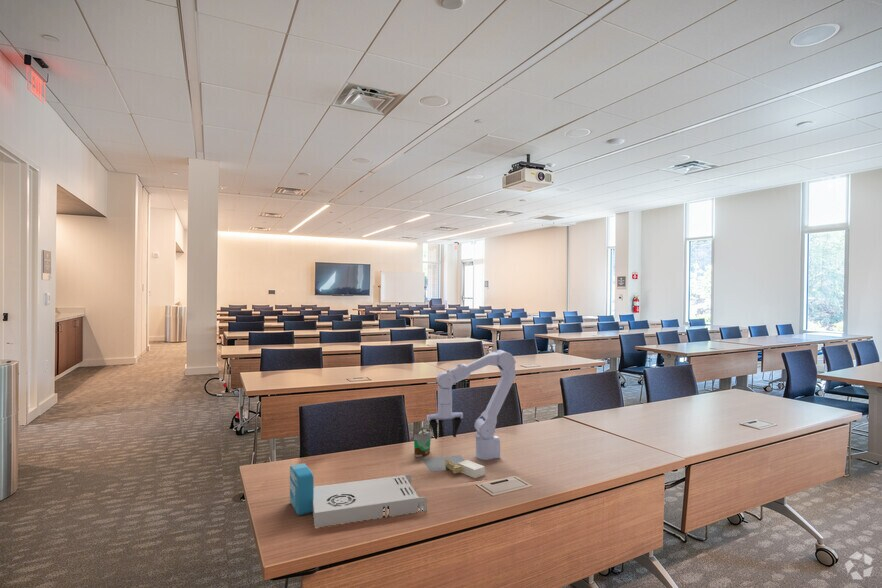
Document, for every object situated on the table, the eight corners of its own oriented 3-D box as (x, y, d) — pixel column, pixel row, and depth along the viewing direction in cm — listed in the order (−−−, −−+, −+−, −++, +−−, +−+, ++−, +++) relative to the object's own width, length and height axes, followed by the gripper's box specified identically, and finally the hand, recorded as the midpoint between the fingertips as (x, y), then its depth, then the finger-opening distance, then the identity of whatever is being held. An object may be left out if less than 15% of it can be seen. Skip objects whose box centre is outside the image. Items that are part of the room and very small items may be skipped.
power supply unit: (426, 513, 140) (426, 496, 141) (314, 530, 130) (314, 513, 130) (411, 488, 158) (411, 474, 158) (311, 502, 148) (311, 486, 148)
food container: (428, 461, 183) (428, 435, 183) (413, 460, 185) (413, 435, 185) (435, 451, 195) (435, 427, 196) (421, 450, 197) (421, 426, 197)
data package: (289, 502, 147) (289, 464, 147) (304, 499, 149) (304, 461, 149) (298, 517, 137) (298, 476, 137) (313, 514, 139) (313, 473, 139)
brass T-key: (443, 468, 172) (443, 460, 172) (450, 466, 174) (449, 458, 174) (454, 475, 166) (454, 466, 166) (461, 473, 167) (461, 465, 167)
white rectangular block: (467, 469, 173) (467, 459, 173) (484, 476, 166) (484, 466, 167) (457, 472, 170) (457, 462, 170) (474, 479, 163) (474, 469, 163)
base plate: (459, 457, 187) (459, 454, 187) (471, 469, 174) (471, 467, 174) (421, 461, 183) (421, 458, 183) (430, 474, 169) (430, 471, 169)
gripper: (459, 399, 189) (459, 433, 189) (424, 402, 185) (424, 436, 185) (464, 403, 182) (464, 438, 182) (429, 406, 178) (429, 441, 178)
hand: (445, 437), depth 183 cm, fingers open, 7 cm apart
